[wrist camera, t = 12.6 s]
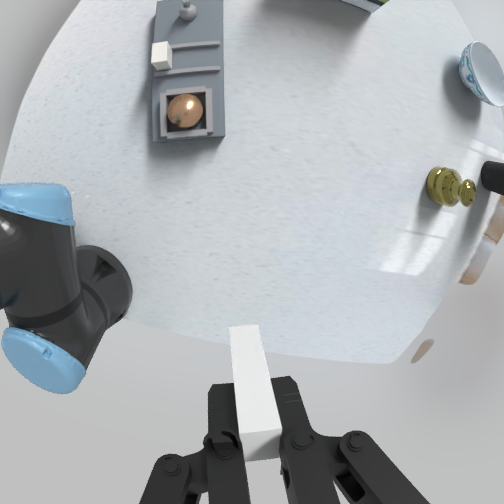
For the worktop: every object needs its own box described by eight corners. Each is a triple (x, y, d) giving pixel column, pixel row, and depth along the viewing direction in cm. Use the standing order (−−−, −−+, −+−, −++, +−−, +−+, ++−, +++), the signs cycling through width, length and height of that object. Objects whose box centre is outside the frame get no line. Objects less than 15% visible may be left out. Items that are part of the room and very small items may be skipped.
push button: (171, 130, 32) (167, 128, 30) (170, 99, 31) (166, 95, 28) (203, 126, 33) (202, 125, 31) (203, 96, 31) (201, 92, 29)
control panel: (157, 142, 36) (149, 141, 32) (160, 9, 28) (154, -5, 23) (224, 136, 37) (225, 134, 33) (222, 3, 29) (223, -12, 24)
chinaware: (458, 37, 31) (480, 32, 24) (489, 87, 36) (511, 87, 29) (437, 62, 34) (462, 57, 27) (472, 118, 39) (497, 119, 32)
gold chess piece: (422, 199, 44) (457, 211, 35) (428, 162, 42) (464, 169, 32) (445, 204, 45) (478, 217, 36) (451, 170, 43) (485, 179, 33)
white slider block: (157, 71, 29) (151, 62, 26) (158, 53, 28) (152, 43, 25) (171, 69, 30) (166, 60, 26) (172, 51, 29) (167, 41, 25)
